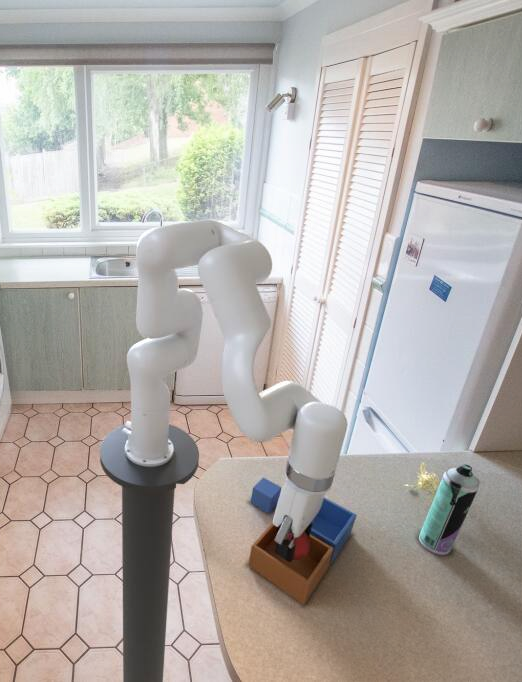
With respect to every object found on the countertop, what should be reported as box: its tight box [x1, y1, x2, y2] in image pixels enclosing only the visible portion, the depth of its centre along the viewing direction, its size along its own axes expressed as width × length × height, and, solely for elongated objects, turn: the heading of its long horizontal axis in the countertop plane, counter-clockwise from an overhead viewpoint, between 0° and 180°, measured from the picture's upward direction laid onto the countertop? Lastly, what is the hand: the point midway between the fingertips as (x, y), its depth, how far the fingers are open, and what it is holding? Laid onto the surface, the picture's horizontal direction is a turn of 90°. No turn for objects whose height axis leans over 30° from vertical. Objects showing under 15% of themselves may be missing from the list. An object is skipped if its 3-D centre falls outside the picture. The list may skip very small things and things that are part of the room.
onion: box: [286, 531, 310, 560], centre depth 84 cm, size 6×6×8 cm
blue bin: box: [310, 496, 357, 566], centre depth 92 cm, size 11×10×6 cm
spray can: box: [418, 464, 481, 556], centre depth 87 cm, size 6×6×20 cm
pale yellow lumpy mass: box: [403, 458, 442, 505], centre depth 100 cm, size 11×15×9 cm
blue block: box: [250, 476, 283, 514], centre depth 100 cm, size 4×4×4 cm
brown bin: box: [247, 521, 334, 606], centre depth 85 cm, size 11×10×6 cm
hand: (291, 545), depth 84 cm, fingers closed on onion, 5 cm apart
